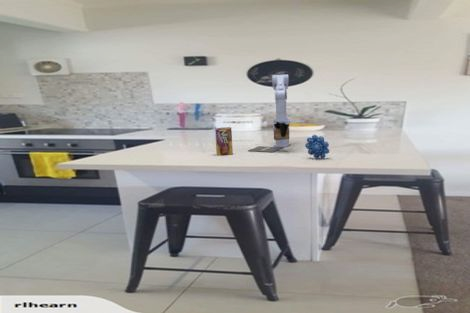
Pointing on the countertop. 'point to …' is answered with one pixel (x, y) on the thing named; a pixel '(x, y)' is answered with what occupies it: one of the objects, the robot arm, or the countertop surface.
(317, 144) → the blue knobbed wheel
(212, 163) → the countertop surface
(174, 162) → the countertop surface
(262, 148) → the mat
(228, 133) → the candy box
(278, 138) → the walnut block
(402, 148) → the countertop surface
